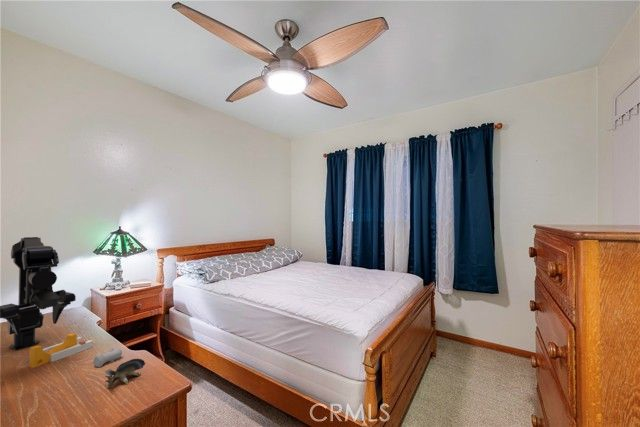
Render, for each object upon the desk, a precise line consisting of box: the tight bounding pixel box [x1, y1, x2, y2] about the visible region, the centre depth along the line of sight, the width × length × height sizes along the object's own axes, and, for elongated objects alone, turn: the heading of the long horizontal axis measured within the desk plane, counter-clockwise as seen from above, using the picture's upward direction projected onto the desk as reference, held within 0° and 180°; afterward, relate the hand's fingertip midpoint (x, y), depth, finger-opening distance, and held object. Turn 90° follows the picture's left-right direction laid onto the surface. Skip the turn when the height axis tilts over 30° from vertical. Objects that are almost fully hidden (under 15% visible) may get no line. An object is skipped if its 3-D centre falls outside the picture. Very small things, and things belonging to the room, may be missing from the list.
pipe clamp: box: [29, 332, 78, 368], centre depth 95 cm, size 12×4×6 cm, turn 162°
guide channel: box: [42, 336, 94, 363], centre depth 99 cm, size 9×12×3 cm
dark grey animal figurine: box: [104, 358, 146, 389], centre depth 81 cm, size 8×7×9 cm
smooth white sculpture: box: [92, 348, 123, 368], centre depth 92 cm, size 4×8×5 cm
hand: (37, 328), depth 89 cm, fingers open, 9 cm apart
